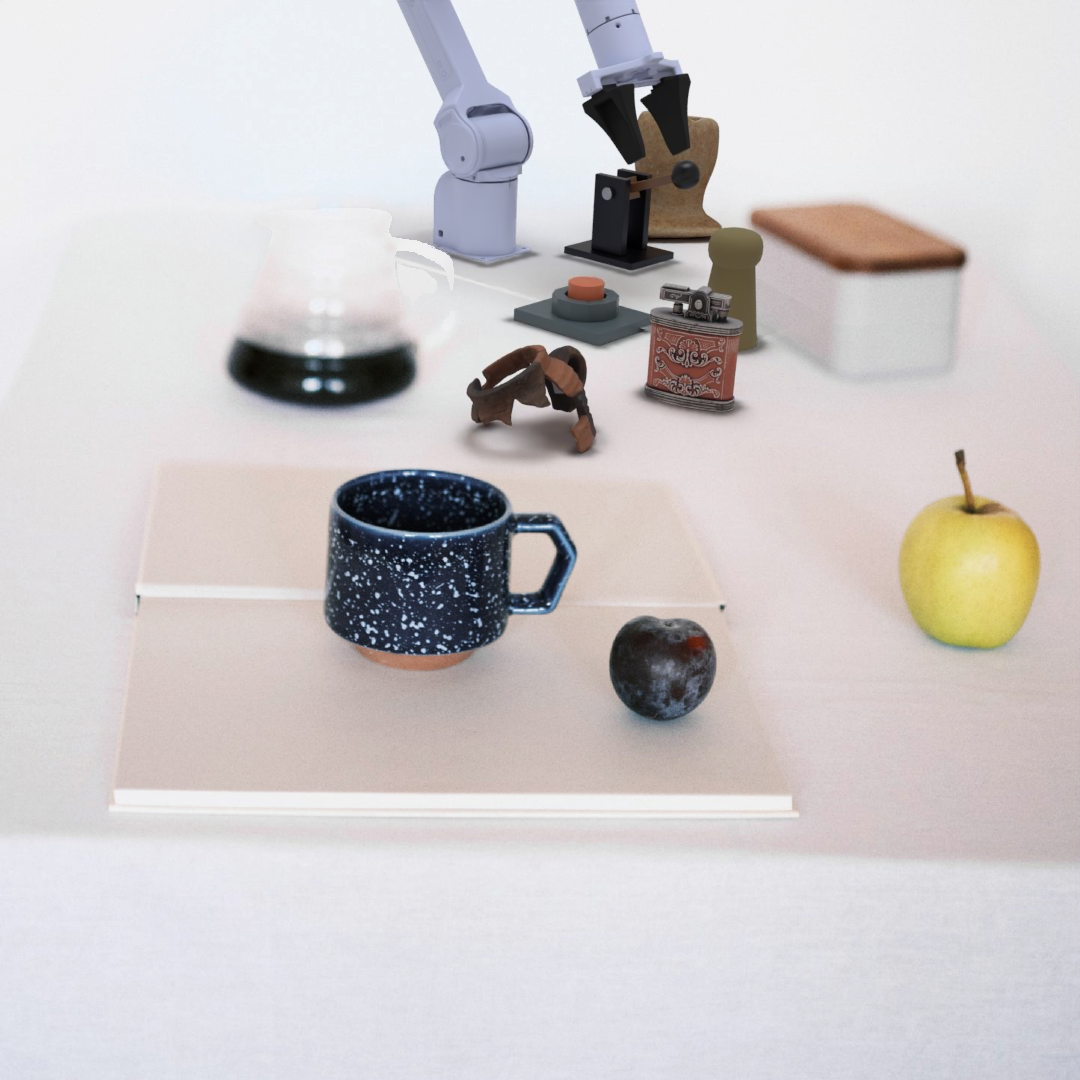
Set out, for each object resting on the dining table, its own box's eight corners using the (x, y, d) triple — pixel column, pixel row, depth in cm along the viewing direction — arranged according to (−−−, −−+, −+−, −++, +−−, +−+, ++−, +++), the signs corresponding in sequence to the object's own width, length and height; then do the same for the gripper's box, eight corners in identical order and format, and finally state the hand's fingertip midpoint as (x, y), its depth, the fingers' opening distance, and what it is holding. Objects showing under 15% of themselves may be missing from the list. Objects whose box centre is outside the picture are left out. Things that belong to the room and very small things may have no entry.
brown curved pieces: (579, 473, 105) (527, 384, 102) (485, 495, 111) (434, 411, 108) (636, 390, 113) (590, 305, 110) (546, 414, 119) (500, 334, 116)
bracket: (673, 262, 160) (680, 176, 156) (631, 274, 155) (637, 186, 150) (606, 245, 166) (611, 162, 161) (563, 256, 160) (567, 171, 156)
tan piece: (706, 223, 178) (717, 103, 171) (728, 247, 167) (741, 120, 160) (590, 222, 176) (597, 100, 169) (605, 246, 165) (613, 117, 158)
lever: (708, 185, 151) (703, 155, 150) (691, 189, 149) (685, 159, 148) (625, 204, 159) (619, 176, 158) (607, 208, 157) (602, 180, 156)
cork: (737, 356, 130) (749, 241, 126) (683, 341, 134) (693, 229, 129) (768, 341, 135) (781, 229, 130) (715, 328, 138) (726, 218, 133)
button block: (513, 320, 138) (514, 290, 136) (571, 302, 144) (572, 274, 143) (598, 346, 131) (600, 316, 130) (655, 327, 138) (657, 297, 136)
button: (560, 297, 136) (560, 280, 135) (583, 291, 139) (584, 274, 138) (588, 306, 134) (589, 288, 133) (611, 298, 137) (612, 281, 136)
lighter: (738, 402, 119) (751, 290, 115) (726, 415, 116) (739, 300, 112) (652, 386, 122) (660, 275, 118) (638, 397, 119) (646, 284, 115)
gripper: (596, 12, 131) (644, 149, 132) (685, 5, 141) (730, 132, 142) (546, 44, 136) (593, 176, 137) (636, 35, 146) (679, 158, 147)
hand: (659, 156), depth 140 cm, fingers open, 7 cm apart
